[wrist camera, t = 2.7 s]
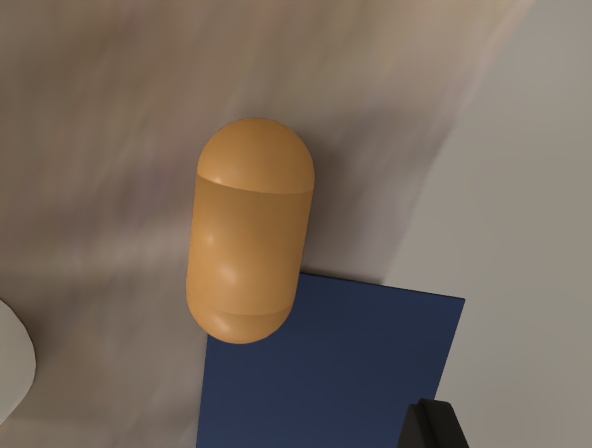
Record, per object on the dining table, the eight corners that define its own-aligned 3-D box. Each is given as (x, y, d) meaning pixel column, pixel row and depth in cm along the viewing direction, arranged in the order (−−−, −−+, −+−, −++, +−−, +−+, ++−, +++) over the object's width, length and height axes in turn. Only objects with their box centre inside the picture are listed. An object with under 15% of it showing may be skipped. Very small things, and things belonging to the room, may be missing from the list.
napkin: (216, 259, 21) (216, 260, 21) (464, 298, 22) (465, 299, 22) (195, 452, 25) (195, 455, 25) (405, 484, 26) (406, 487, 25)
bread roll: (216, 105, 19) (188, 111, 15) (322, 123, 19) (326, 134, 15) (196, 302, 22) (167, 356, 18) (289, 317, 22) (284, 374, 18)
